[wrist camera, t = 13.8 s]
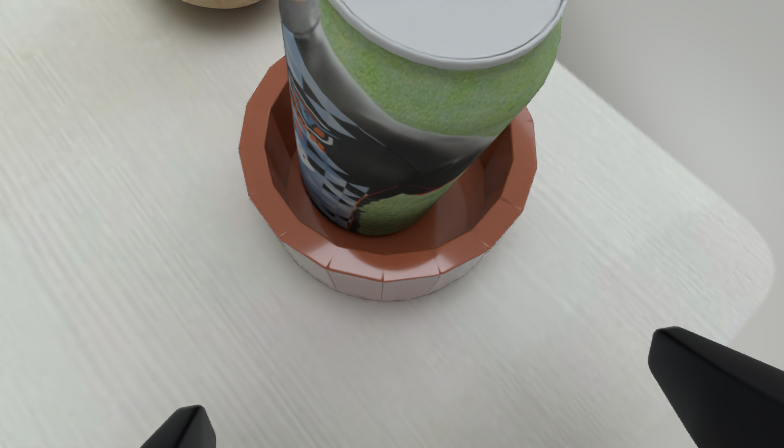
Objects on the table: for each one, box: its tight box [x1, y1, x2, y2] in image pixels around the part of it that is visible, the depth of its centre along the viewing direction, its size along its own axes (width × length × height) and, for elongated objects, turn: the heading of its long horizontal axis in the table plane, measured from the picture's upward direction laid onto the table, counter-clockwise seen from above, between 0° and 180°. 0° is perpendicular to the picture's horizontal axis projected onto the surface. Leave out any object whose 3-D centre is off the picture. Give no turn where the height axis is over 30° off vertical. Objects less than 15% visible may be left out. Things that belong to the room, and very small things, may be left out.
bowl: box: [239, 56, 537, 301], centre depth 17 cm, size 11×11×4 cm
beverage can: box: [279, 0, 568, 235], centre depth 13 cm, size 6×7×12 cm
